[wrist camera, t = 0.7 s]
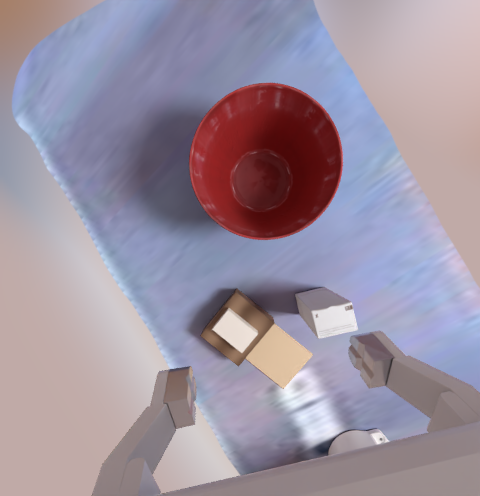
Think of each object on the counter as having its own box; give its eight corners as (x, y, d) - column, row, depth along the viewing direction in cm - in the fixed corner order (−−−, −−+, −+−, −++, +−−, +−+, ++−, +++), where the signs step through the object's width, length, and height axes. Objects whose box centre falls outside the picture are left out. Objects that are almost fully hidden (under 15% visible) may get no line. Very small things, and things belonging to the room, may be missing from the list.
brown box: (272, 317, 59) (274, 323, 55) (239, 357, 60) (238, 366, 56) (236, 288, 59) (235, 292, 55) (203, 329, 60) (200, 335, 56)
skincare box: (299, 314, 58) (315, 341, 44) (294, 292, 58) (309, 311, 43) (331, 307, 58) (359, 332, 43) (326, 284, 58) (352, 302, 43)
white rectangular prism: (257, 330, 55) (257, 334, 53) (242, 349, 55) (241, 353, 53) (228, 307, 55) (227, 310, 53) (213, 326, 55) (212, 329, 53)
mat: (312, 354, 59) (313, 354, 58) (283, 388, 60) (283, 388, 59) (270, 320, 59) (270, 320, 58) (241, 354, 60) (241, 355, 59)
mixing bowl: (342, 186, 56) (377, 167, 41) (255, 261, 58) (257, 271, 43) (267, 100, 56) (273, 48, 40) (182, 178, 58) (158, 158, 42)
